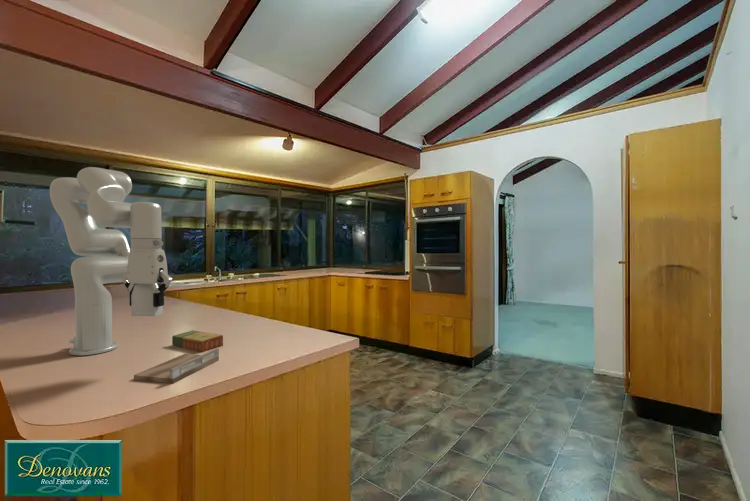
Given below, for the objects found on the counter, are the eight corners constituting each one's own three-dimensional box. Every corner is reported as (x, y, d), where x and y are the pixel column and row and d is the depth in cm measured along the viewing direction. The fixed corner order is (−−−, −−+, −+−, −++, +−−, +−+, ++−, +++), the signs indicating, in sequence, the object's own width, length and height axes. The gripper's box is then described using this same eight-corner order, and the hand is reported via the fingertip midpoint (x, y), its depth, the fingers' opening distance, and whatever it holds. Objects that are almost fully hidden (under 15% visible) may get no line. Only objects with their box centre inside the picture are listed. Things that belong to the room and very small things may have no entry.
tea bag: (154, 316, 97) (154, 281, 97) (131, 315, 97) (131, 281, 97) (163, 313, 101) (162, 279, 101) (140, 313, 101) (140, 279, 101)
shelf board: (133, 379, 89) (133, 366, 89) (184, 357, 107) (184, 346, 107) (173, 383, 87) (173, 369, 87) (219, 360, 105) (219, 348, 104)
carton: (202, 353, 112) (202, 340, 112) (171, 347, 119) (171, 335, 119) (223, 346, 120) (223, 334, 120) (193, 340, 127) (193, 329, 127)
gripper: (182, 245, 100) (182, 304, 101) (133, 245, 104) (133, 302, 104) (161, 245, 93) (161, 309, 93) (109, 245, 97) (110, 306, 97)
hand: (146, 305), depth 99 cm, fingers closed on tea bag, 7 cm apart
